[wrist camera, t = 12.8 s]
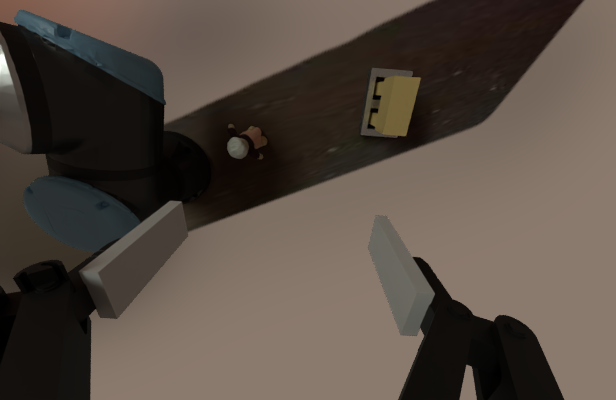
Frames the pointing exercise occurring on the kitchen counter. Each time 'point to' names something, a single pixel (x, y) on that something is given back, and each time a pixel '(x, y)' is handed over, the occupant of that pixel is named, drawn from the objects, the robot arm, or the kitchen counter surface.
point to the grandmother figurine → (245, 142)
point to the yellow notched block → (395, 104)
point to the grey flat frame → (372, 103)
